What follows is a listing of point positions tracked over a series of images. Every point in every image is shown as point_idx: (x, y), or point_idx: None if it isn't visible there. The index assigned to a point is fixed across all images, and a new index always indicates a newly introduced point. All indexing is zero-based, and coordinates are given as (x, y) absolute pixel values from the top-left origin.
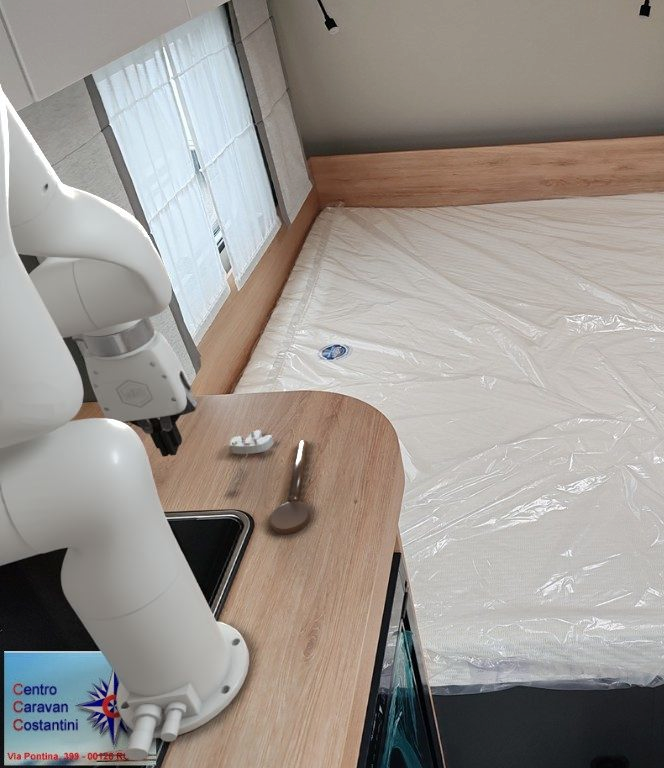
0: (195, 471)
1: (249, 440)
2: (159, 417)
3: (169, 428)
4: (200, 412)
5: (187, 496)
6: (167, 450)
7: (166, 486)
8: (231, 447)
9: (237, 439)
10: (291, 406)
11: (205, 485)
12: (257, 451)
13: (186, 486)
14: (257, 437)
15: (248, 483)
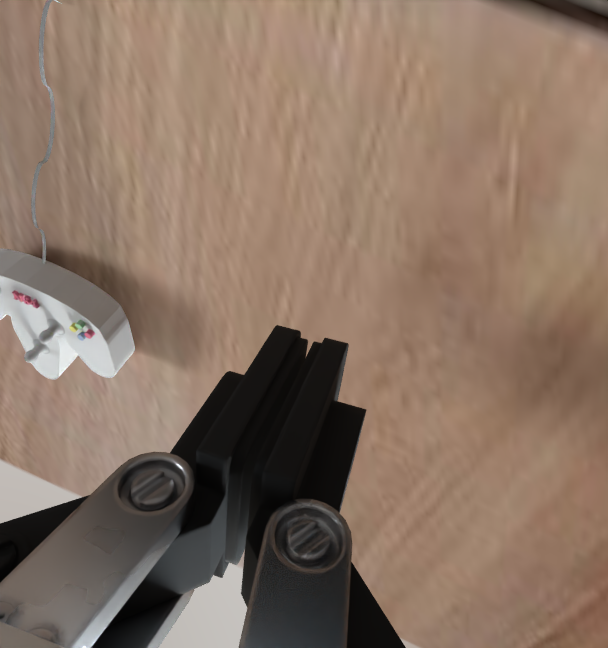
0: (278, 270)
1: (35, 322)
2: (91, 608)
3: (149, 471)
4: None
5: (292, 81)
6: (296, 358)
7: (409, 219)
8: (103, 317)
9: (90, 353)
10: (22, 447)
11: (214, 141)
12: (6, 252)
13: (307, 174)
14: (15, 327)
15: (15, 68)
